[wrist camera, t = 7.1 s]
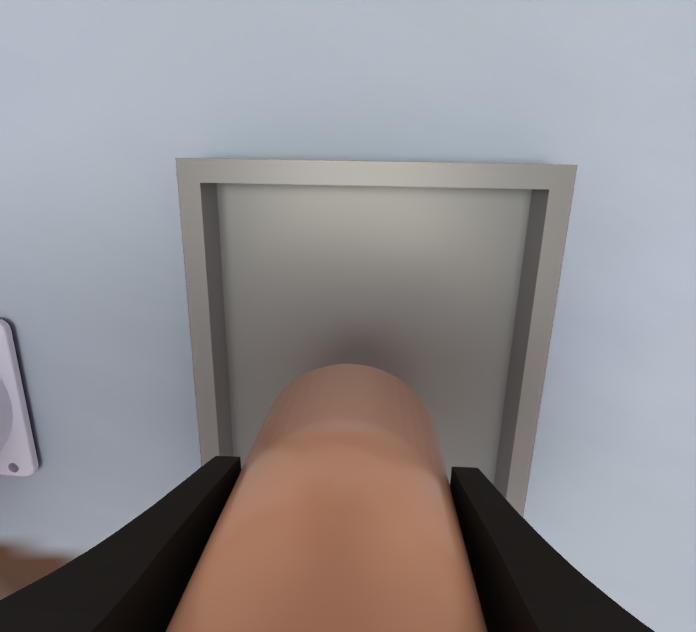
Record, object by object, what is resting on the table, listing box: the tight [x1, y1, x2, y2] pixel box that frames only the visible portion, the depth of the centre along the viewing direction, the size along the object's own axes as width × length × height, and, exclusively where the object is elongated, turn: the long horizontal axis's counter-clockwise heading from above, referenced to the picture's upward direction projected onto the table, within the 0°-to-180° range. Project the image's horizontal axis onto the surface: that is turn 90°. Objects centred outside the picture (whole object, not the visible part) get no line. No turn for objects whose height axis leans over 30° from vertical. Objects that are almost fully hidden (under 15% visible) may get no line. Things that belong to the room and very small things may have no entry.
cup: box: [166, 364, 488, 632], centre depth 9 cm, size 5×5×8 cm
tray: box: [176, 158, 577, 517], centre depth 19 cm, size 14×18×2 cm
